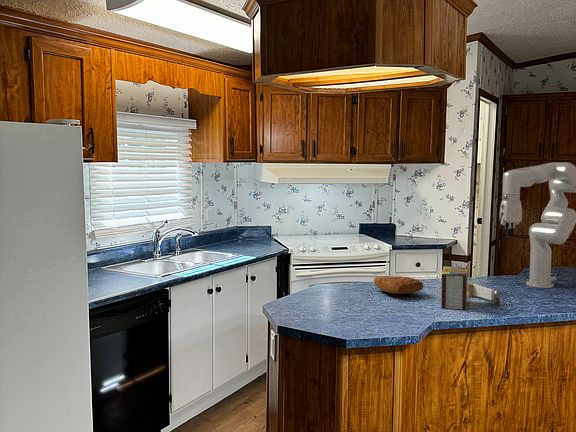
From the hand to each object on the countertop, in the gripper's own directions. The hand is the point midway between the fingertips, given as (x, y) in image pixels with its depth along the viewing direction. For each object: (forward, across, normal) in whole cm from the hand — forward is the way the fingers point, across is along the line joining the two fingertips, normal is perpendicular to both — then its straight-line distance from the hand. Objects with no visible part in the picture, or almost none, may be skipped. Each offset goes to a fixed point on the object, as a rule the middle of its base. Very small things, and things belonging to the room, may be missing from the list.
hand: (509, 236), depth 244 cm
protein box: (+27, -37, -5) cm, 46 cm away
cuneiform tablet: (+27, -48, +22) cm, 59 cm away
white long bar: (+27, -19, -3) cm, 33 cm away
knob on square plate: (+27, -19, -12) cm, 35 cm away
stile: (+27, -21, +3) cm, 35 cm away
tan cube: (+27, -14, +12) cm, 33 cm away
